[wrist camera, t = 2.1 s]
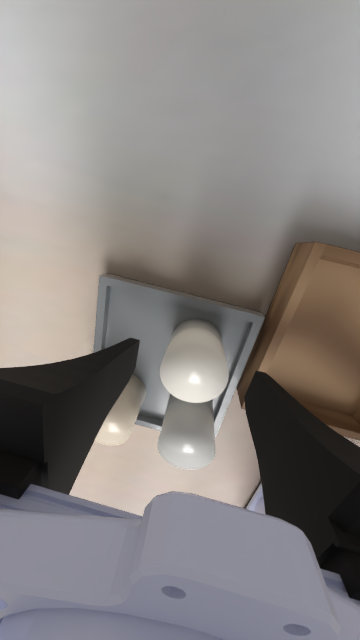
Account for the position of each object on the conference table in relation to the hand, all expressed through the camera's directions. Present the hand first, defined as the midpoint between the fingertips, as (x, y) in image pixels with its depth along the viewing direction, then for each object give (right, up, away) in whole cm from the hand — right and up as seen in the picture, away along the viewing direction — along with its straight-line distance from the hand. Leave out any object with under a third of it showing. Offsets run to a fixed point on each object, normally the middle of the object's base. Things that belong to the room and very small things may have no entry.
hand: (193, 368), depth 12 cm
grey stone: (0, -5, +6) cm, 7 cm away
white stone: (+1, +1, +4) cm, 4 cm away
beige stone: (-6, -3, +6) cm, 9 cm away
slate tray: (-2, -1, +5) cm, 6 cm away
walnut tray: (+10, +1, +3) cm, 11 cm away
